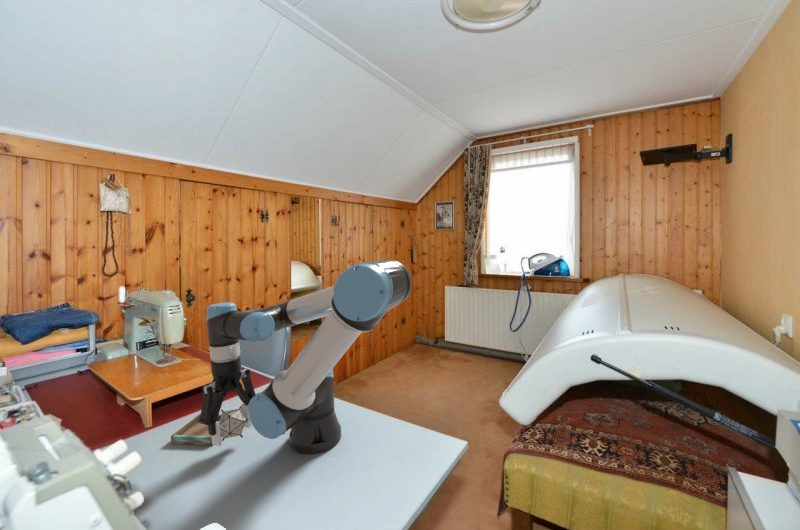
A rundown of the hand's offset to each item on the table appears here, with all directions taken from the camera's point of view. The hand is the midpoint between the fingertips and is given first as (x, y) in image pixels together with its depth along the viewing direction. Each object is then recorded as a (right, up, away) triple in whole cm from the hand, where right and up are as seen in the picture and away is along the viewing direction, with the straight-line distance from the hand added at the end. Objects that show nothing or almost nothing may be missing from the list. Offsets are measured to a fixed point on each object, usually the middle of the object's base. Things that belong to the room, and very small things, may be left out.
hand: (232, 435), depth 99 cm
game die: (0, -1, 0) cm, 1 cm away
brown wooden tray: (-13, -4, +10) cm, 17 cm away
